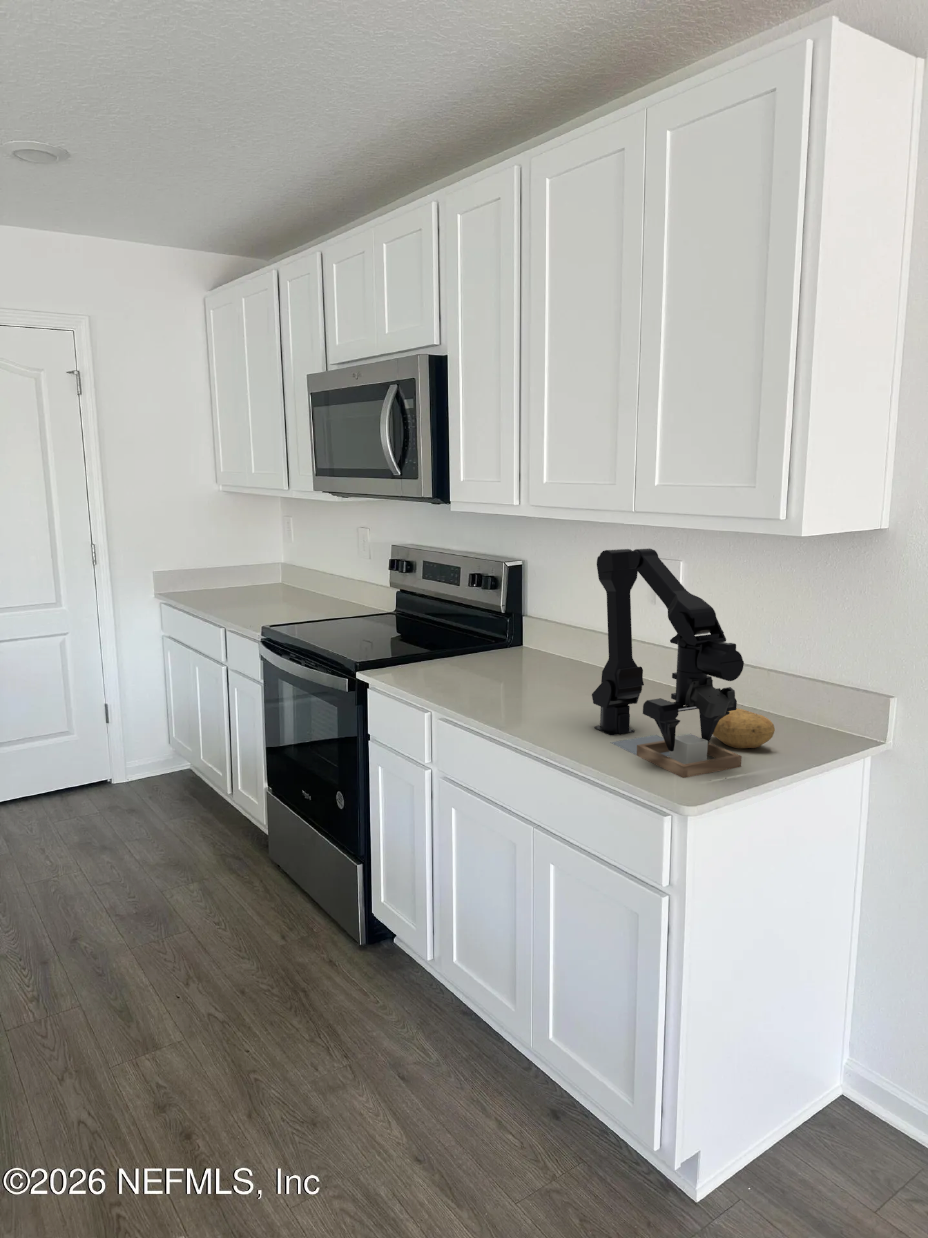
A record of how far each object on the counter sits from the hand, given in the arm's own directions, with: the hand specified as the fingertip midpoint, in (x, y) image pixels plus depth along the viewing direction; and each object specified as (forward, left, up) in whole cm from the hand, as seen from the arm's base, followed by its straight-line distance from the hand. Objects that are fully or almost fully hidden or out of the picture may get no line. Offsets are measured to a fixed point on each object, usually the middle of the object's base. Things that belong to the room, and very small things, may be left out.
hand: (688, 747), depth 168 cm
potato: (-3, +16, -3) cm, 17 cm away
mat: (-10, -1, -3) cm, 10 cm away
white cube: (0, 0, -3) cm, 3 cm away
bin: (0, 0, -3) cm, 3 cm away
